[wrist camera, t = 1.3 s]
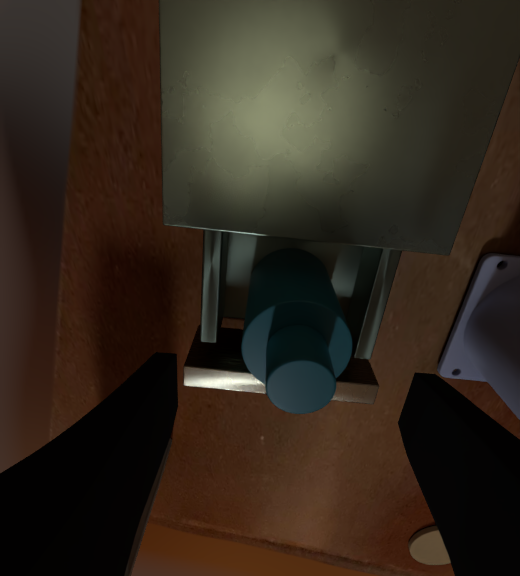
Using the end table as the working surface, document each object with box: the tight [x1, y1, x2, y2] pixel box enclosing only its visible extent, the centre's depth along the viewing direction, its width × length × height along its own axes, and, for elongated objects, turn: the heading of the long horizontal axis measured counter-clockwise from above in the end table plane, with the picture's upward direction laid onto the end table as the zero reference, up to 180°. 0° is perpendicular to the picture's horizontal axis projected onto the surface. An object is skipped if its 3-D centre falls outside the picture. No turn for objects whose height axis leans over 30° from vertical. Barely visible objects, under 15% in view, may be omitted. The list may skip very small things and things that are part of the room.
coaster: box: [408, 526, 451, 565], centre depth 29 cm, size 5×5×1 cm
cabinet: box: [159, 0, 520, 255], centre depth 13 cm, size 12×11×6 cm
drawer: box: [183, 229, 402, 404], centre depth 17 cm, size 12×9×4 cm
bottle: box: [241, 248, 353, 414], centre depth 14 cm, size 4×4×8 cm
